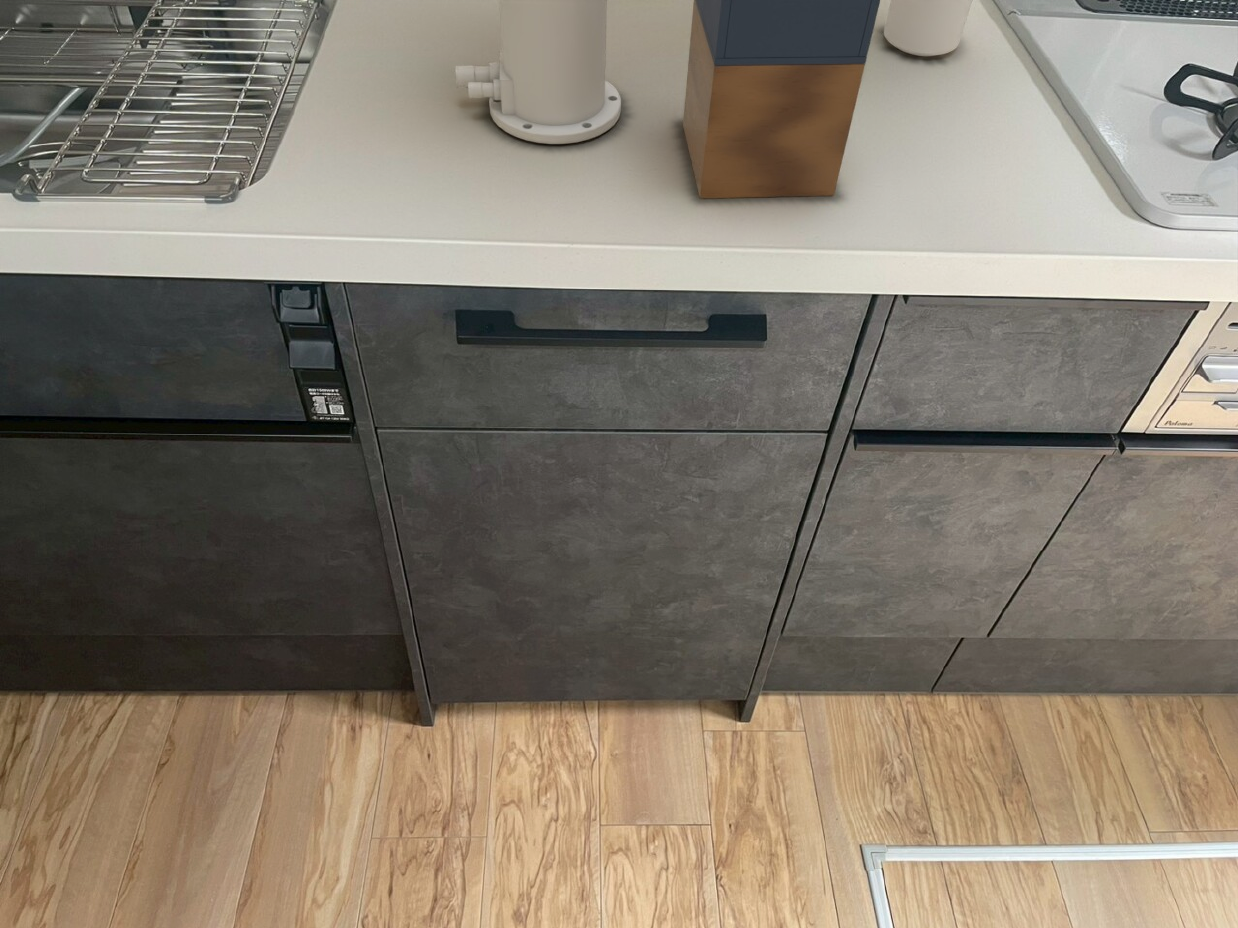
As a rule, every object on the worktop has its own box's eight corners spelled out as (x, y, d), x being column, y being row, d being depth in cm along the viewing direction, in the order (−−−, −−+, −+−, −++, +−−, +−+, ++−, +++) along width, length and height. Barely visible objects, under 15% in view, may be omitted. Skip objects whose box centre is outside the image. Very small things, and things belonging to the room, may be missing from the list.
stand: (699, 198, 82) (714, 66, 73) (682, 125, 90) (694, -3, 80) (834, 195, 83) (865, 64, 74) (805, 123, 91) (831, -4, 81)
